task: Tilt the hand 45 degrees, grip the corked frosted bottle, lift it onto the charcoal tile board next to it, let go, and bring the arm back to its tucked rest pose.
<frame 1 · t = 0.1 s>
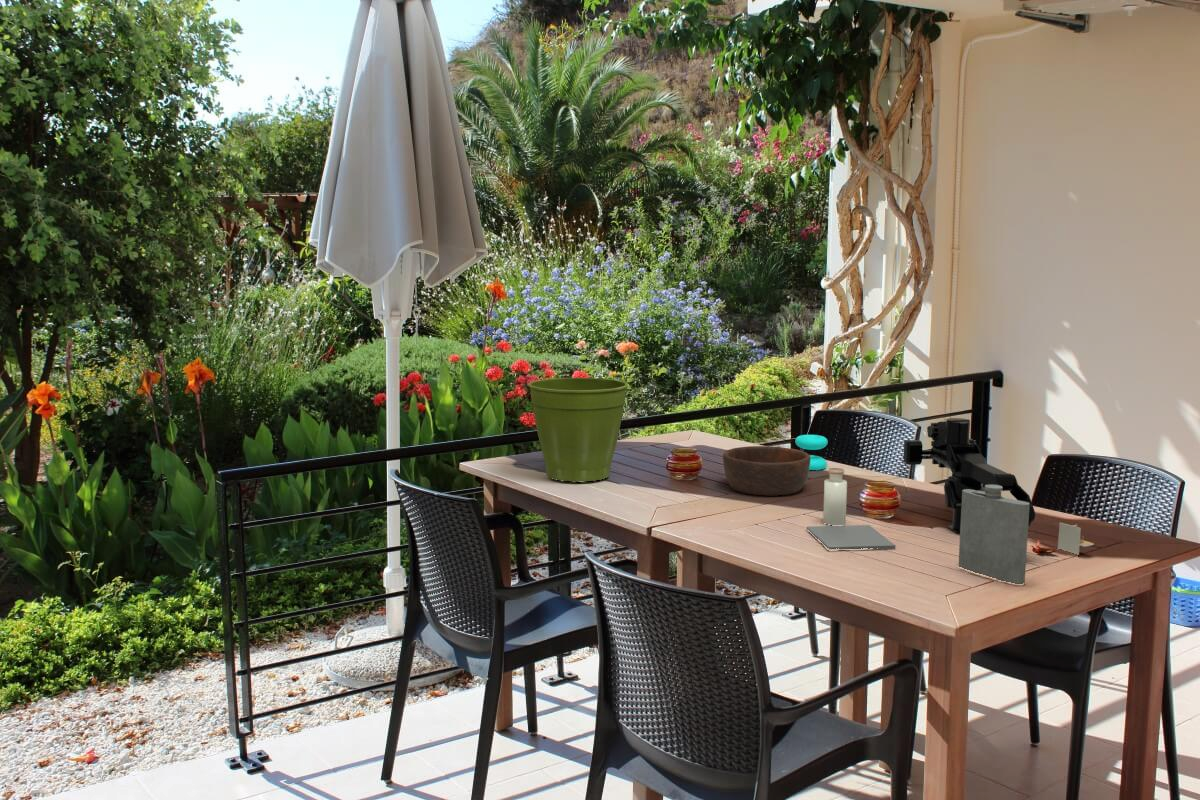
hand: (926, 445, 291), 17 cm above the table, tool horizontal, fingers open, 9 cm apart
pale grey angular piece: (1069, 556, 249), on the table
plant pot: (578, 477, 327), on the table
charcoal tile board: (849, 539, 260), on the table
hip flask: (989, 577, 233), on the table
corked frosted bottle: (834, 523, 275), on the table
wooden bowl: (765, 489, 313), on the table
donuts: (810, 468, 340), on the table
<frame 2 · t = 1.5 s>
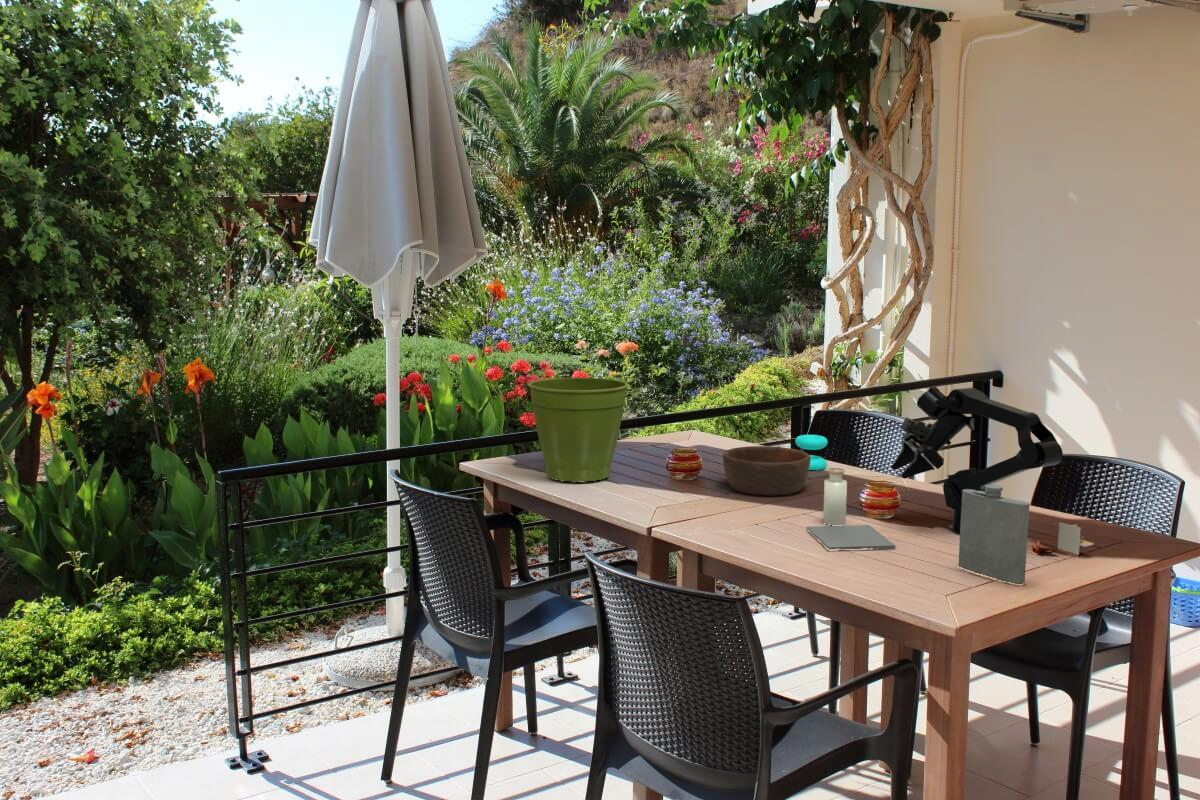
hand: (897, 472, 271), 14 cm above the table, tool tilted 45°, fingers open, 9 cm apart
nothing on the table moved.
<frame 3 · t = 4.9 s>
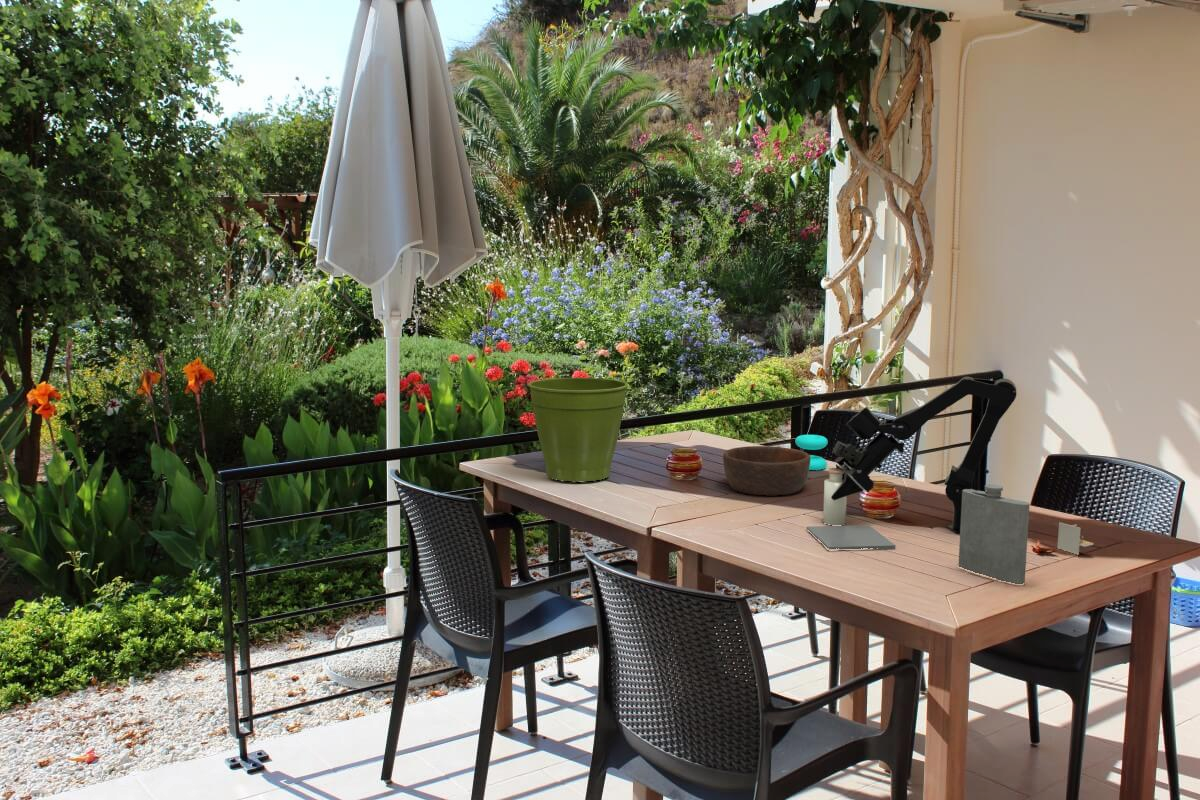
hand: (829, 496, 274), 7 cm above the table, tool tilted 45°, fingers closed on corked frosted bottle, 6 cm apart
corked frosted bottle: (834, 523, 275), on the table, touching gripper
everything else where it was.
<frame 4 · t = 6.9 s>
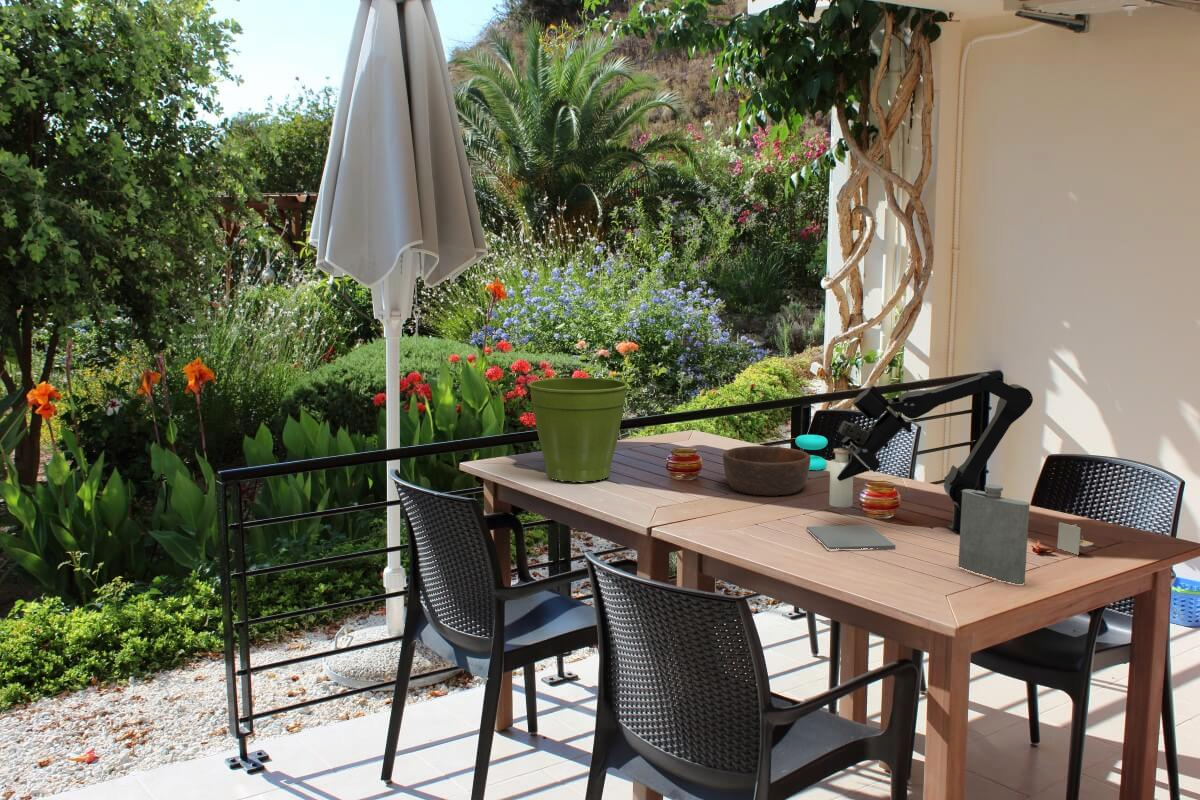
hand: (835, 476, 268), 13 cm above the table, tool tilted 45°, fingers closed on corked frosted bottle, 6 cm apart
corked frosted bottle: (840, 504, 270), point 6 cm above the table, touching gripper
everything else where it was.
when the fingers open (9 cm above the table, at t = 9.1 s): corked frosted bottle stays where it is, resting on charcoal tile board.
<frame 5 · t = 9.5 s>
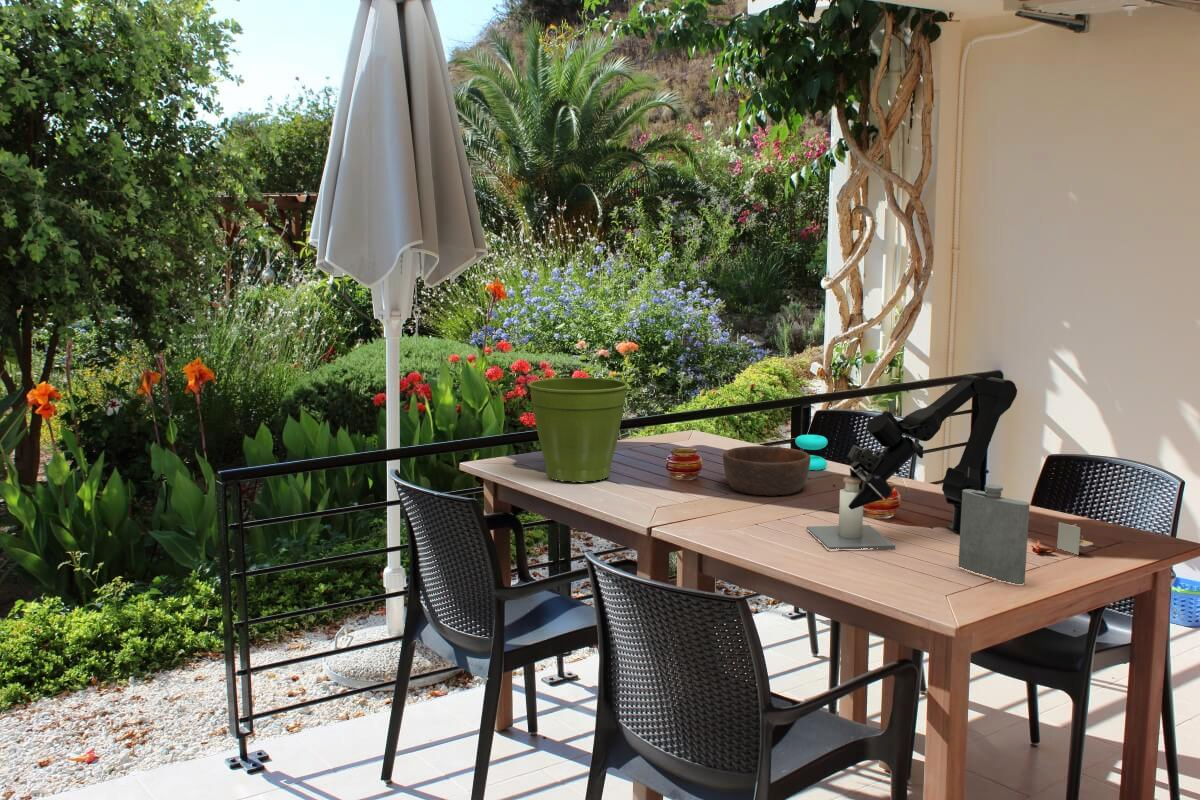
hand: (845, 503, 259), 9 cm above the table, tool tilted 45°, fingers open, 9 cm apart
corked frosted bottle: (850, 535, 260), point 1 cm above the table, touching charcoal tile board
everything else where it was.
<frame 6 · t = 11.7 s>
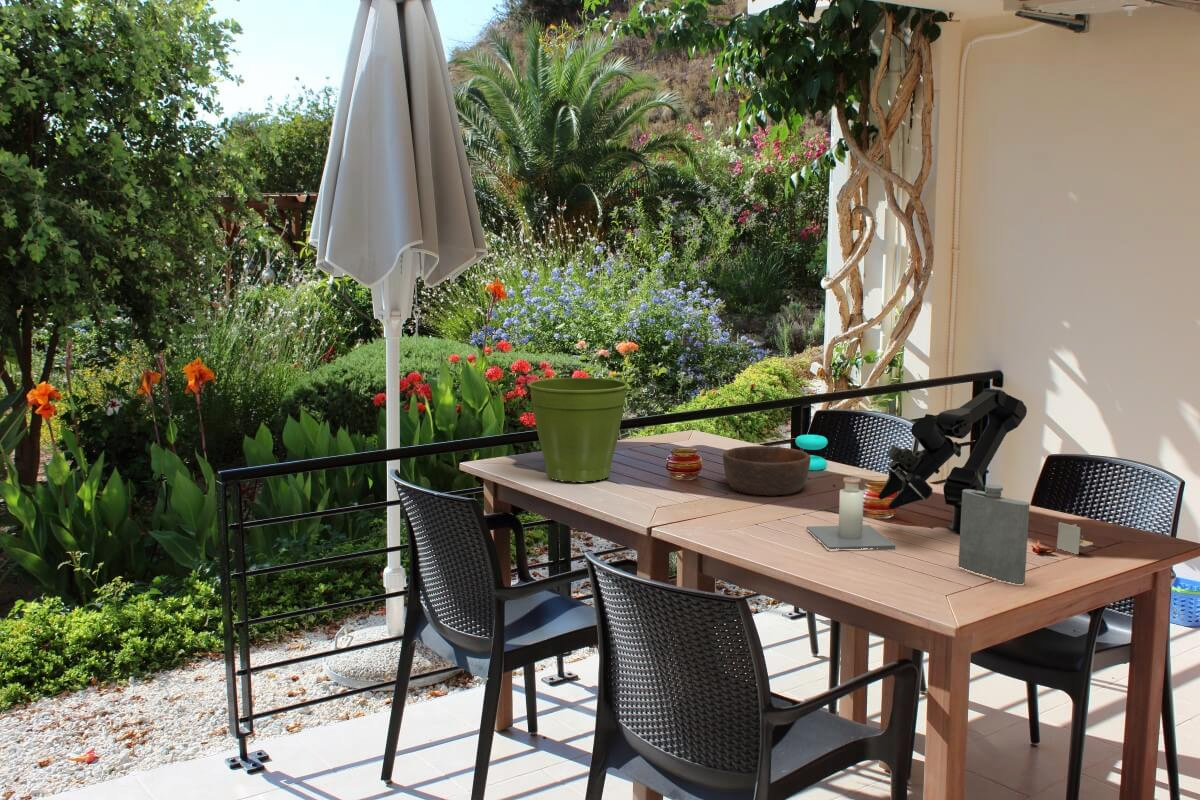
hand: (884, 503, 259), 9 cm above the table, tool tilted 45°, fingers open, 9 cm apart
nothing on the table moved.
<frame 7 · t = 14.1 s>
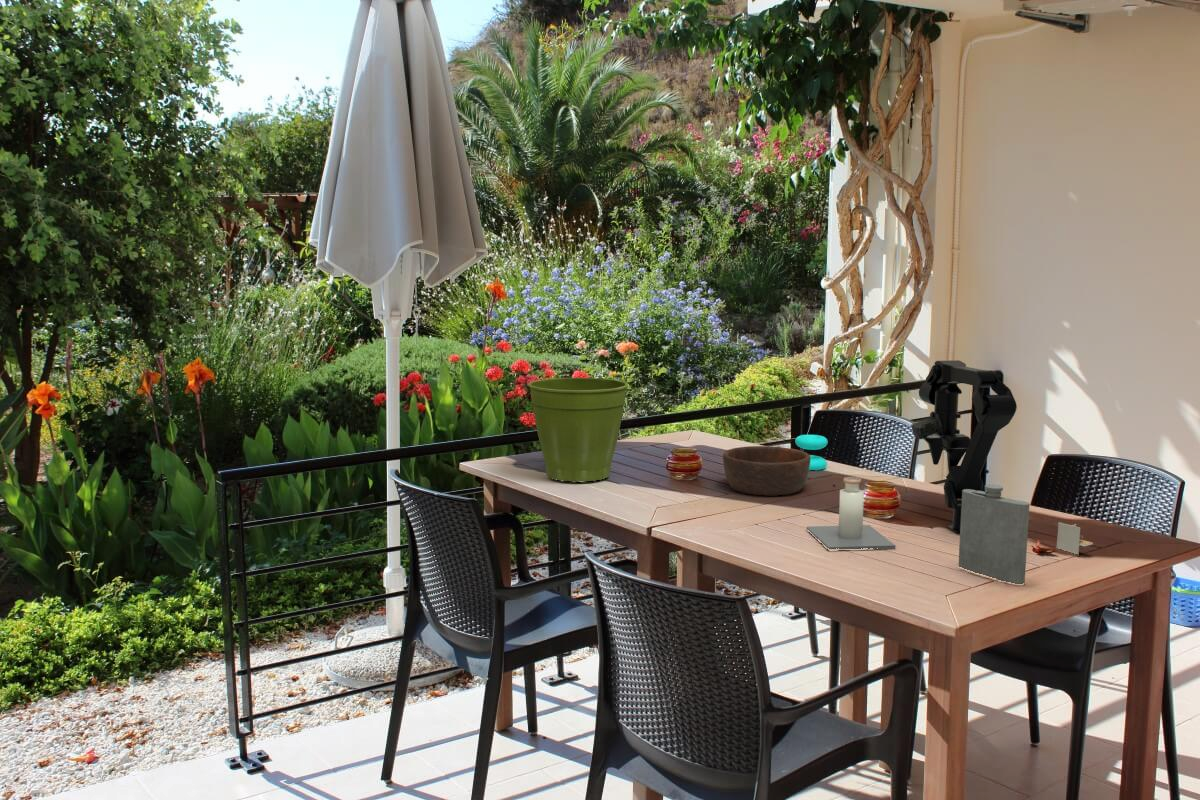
hand: (943, 468, 279), 13 cm above the table, tool pointing down, fingers open, 9 cm apart
nothing on the table moved.
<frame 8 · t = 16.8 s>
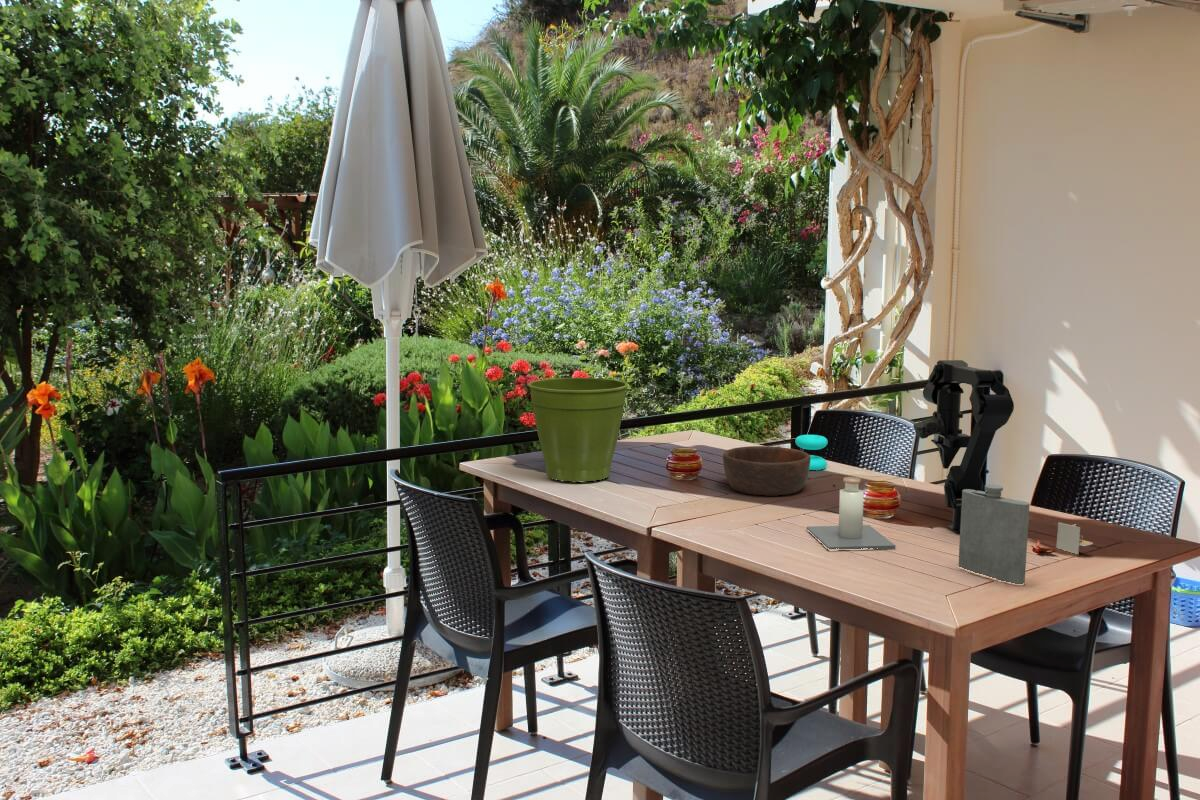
hand: (945, 468, 279), 13 cm above the table, tool pointing down, fingers closed
nothing on the table moved.
at the end: corked frosted bottle inside the target area on the charcoal tile board (0.1 cm from its centre), point 1.0 cm above the charcoal tile board's base; corked frosted bottle tilted 0°; the gripper is holding nothing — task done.
